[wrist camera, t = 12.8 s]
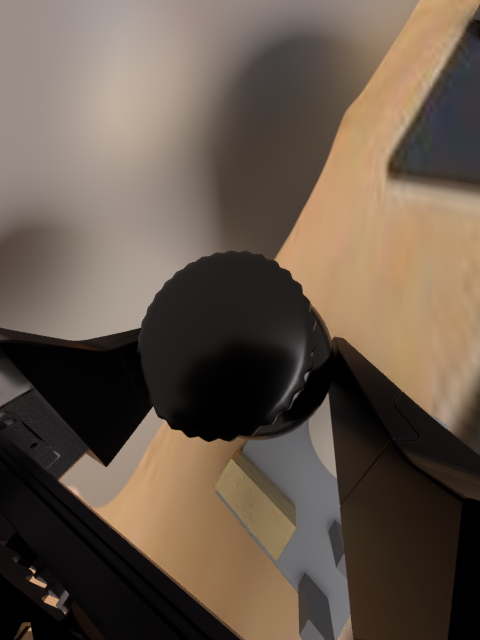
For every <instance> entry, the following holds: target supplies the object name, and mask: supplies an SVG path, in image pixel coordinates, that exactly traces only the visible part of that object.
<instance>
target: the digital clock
mask: <svg viewBox="0 0 480 640" xmlns="http://www.w3.org/2000/svg"><path fill="white" fill-rule="evenodd" d="M473 19H475V20H480V5H479V7H478V9H477V11H476V13H475V15H474V17H473Z"/></svg>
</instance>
